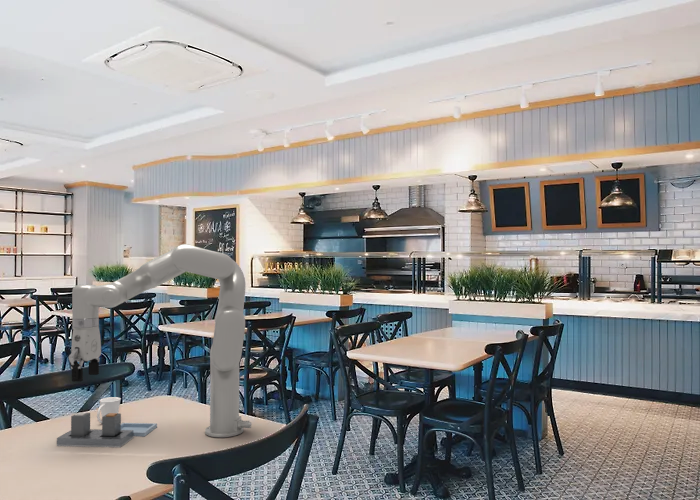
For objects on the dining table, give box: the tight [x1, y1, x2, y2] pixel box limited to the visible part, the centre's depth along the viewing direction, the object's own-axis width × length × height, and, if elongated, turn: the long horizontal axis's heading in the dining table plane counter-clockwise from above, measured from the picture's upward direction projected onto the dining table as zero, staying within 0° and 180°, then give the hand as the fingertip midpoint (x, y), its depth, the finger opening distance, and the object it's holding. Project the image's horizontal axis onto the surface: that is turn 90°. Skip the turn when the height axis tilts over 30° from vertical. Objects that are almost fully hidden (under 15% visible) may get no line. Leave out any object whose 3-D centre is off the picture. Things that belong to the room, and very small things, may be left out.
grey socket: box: [56, 412, 134, 448], centre depth 173 cm, size 20×9×9 cm, turn 87°
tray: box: [121, 422, 158, 437], centre depth 184 cm, size 12×10×2 cm
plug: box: [70, 412, 91, 437], centre depth 174 cm, size 4×4×8 cm
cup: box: [96, 396, 122, 424], centre depth 195 cm, size 7×10×8 cm
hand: (85, 377), depth 175 cm, fingers open, 9 cm apart
